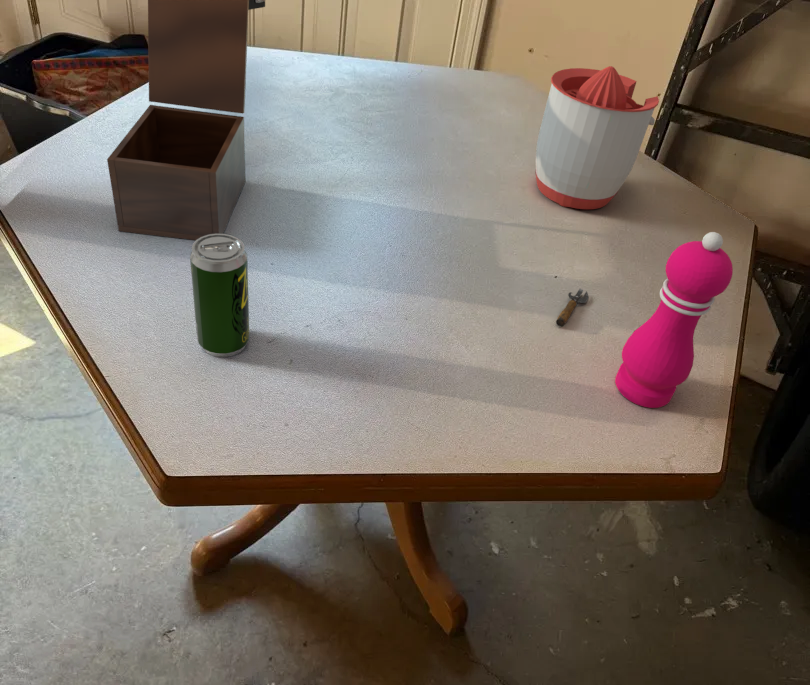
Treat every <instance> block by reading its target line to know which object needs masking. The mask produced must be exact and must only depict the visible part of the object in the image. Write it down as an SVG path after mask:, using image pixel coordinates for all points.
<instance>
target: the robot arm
mask: <svg viewBox="0 0 810 685" xmlns="http://www.w3.org/2000/svg"><path fill="white" fill-rule="evenodd" d="M262 8H266V0H249V9H248V11H251V10H257V9H262Z"/></svg>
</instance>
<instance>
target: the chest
mask: <svg viewBox="0 0 810 685" xmlns="http://www.w3.org/2000/svg"><path fill="white" fill-rule="evenodd" d="M245 139H246V138H245V117H244V116H239V115H233V114H225V113H217V112H210V111H209V112H208V111H202V110H195V109H185V108H178V107H170V106H163V105H156V104H149V105H148V107H147V108H146V109H145V110H144V112H143V113H142V114H141V116H140V117H139V118H138V119H137V121H136V122H135V123H134V124H133V126H132V127H131V128H130V129H129V131H128V132H127V133H126V134H125V136H124V137H123V138H122V140H121V141H120V142H119V144H118V145H117V146H116V147H115V148H114V149H113V151H112V153H111V154H110V155H109V156H108V158H107V159H106V161H107V168H108V174H109V179H110V187H111V192H112V200H113V205H114V210H115V217H116V224H117V229H118V232H121V233H122V232H123V233H124V232H125V233H131V234H139V235H140V234H141V235H149V236H156V237H163V238H175V239H180V240H181V239H182V240H191V241H196V240H197V239H199V238H200V237H203V236H206V235H209V234H225V231H226V229H227V227H228V224H229V222H230V220H231V217H232V215H233V212H234V210H235V209H236V208H235V207H236V205H237V203H238V201H239V198H240V196H241V193H242V191H243V189H244V186H245V184H246V144H245V143H246V142H245Z"/></svg>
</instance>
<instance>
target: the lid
mask: <svg viewBox="0 0 810 685" xmlns="http://www.w3.org/2000/svg"><path fill="white" fill-rule="evenodd" d="M248 9H249V0H147V41H148V42H147V44H148V52H147V53H148V54H147V55H148V57H147V58H148V102H151V103H157V104H165V105H172V106H173V105H174V106H180V107H181V106H182V107H188V108H198V109H202V110H203V109H204V110H205V109H206V110H212V111H219V112H227V113H234V114H245V113H246V112H245V110H246V85H247V84H246V83H247V60H248V59H247V58H248V57H247V56H248V31H249V30H248V29H249V10H248Z"/></svg>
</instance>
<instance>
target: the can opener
mask: <svg viewBox="0 0 810 685" xmlns="http://www.w3.org/2000/svg"><path fill="white" fill-rule="evenodd" d="M583 292H584V289H582V288H579V289H578V290H577V292H576V294H575V295H572V294H573V292H571V291H570V292H568V294H567V295H568V298H569V299H570V300H569V301H568V302H567V303H566V306H565V307H564V308H563V309H562V311H561V312H560V313H559V315H558V316H557V318H556V321H555V324H556V325H557V326H558V327H563V326H564V325H565V324H566V323H567V322H568V320H569V319H570V317H571V316H572V313H573V311H574V310H575V308H576V307H577V305H578V304H577V303H579V304H585V303H587V302H588V300H589V293H588V291H585V293H583ZM582 294H584V295H583V296H582V297H581V295H582Z"/></svg>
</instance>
